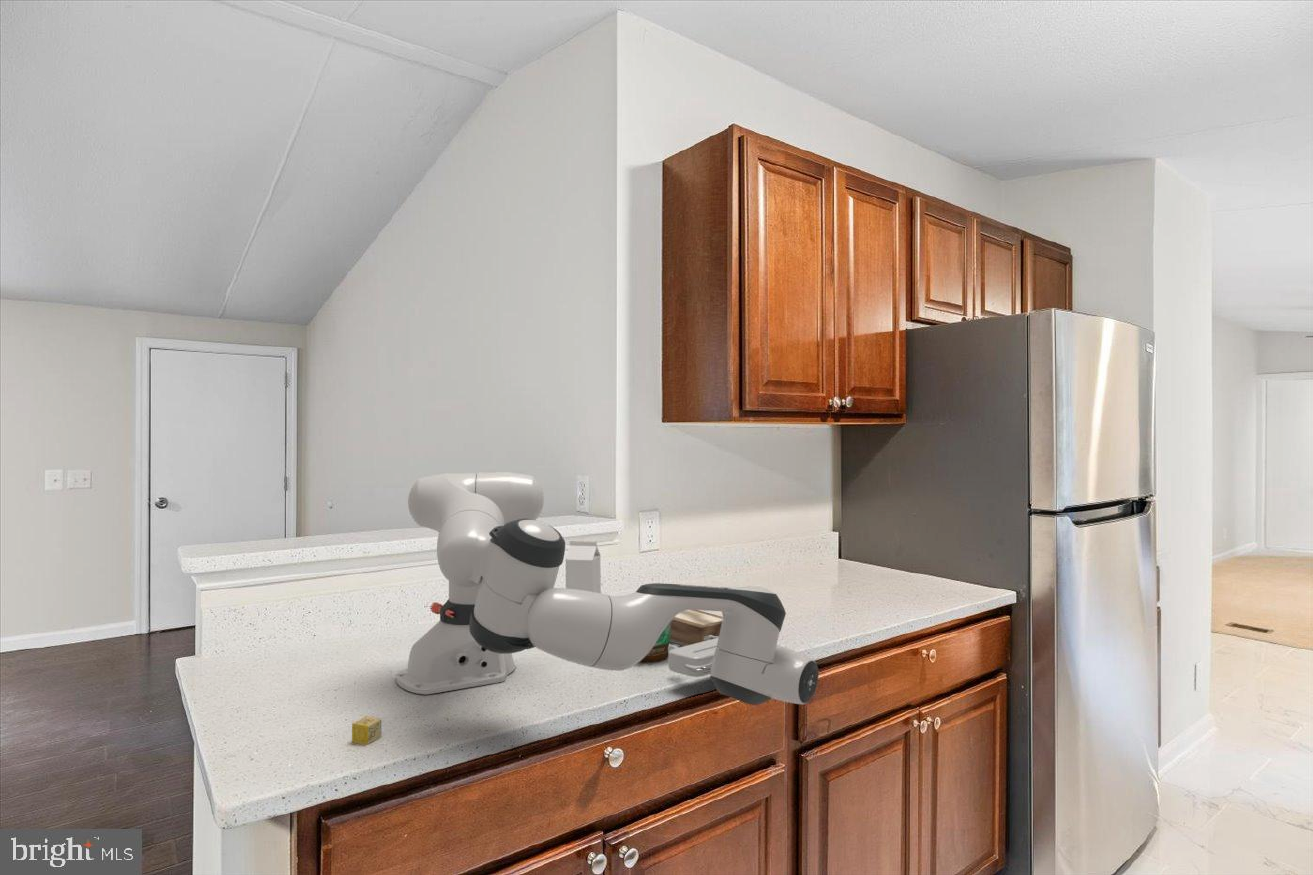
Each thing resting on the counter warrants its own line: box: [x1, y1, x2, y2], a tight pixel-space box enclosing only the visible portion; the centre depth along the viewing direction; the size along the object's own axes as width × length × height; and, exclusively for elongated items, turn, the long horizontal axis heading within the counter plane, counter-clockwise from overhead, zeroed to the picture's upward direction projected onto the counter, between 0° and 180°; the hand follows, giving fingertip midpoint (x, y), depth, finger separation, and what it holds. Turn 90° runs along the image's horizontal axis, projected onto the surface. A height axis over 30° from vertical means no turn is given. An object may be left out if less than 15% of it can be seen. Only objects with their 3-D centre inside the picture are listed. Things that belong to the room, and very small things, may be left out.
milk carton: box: [565, 540, 602, 594], centre depth 189 cm, size 7×7×19 cm
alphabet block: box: [351, 715, 382, 746], centre depth 114 cm, size 3×3×3 cm
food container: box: [639, 618, 674, 664], centre depth 153 cm, size 12×6×10 cm, turn 129°
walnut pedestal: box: [669, 610, 723, 647], centre depth 167 cm, size 13×17×5 cm
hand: (688, 644), depth 145 cm, fingers open, 8 cm apart
